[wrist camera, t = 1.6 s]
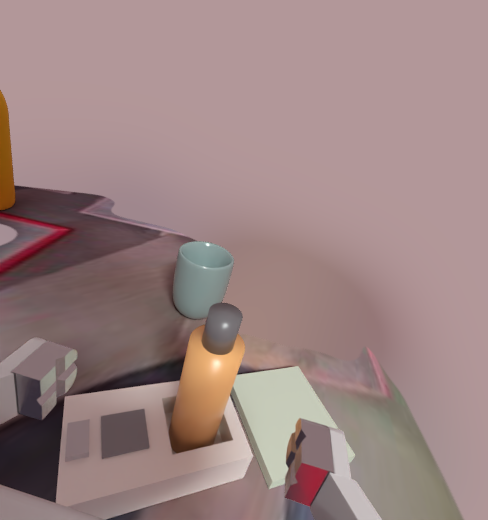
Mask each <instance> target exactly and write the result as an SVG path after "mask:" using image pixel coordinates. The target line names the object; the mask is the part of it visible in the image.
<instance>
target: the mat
mask: <svg viewBox="0 0 488 520" xmlns="http://www.w3.org/2000/svg"><path fill="white" fill-rule="evenodd" d="M231 395H232V398H233V400H234V403H235V405H236V408H237V410H238V413H239V415H240V418H241V420H242V423H243V425H244V428H245V430H246V433H247V435H248V438H249V440H250V443H251V445H252V448H253V451H254V453H255V456H256V458H257V461H258V463H259V466H260V468H261V471H262V473H263V476H264V478H265V481H266V483H267V486H268V488H269V489H271V488H274V487H277V486H280V485H283V484H285V476H286V474H287V471H288V469H289V468H288V466H287V465H286V452H287V446H288V442H289V439H290V437H291V434H292V433H294V432H295V425H296V423H297V421H298V419H299V418H302V419H305V420H309V421H312V422H315V423H319V424H322V425H326V426H327V427H328V426H329V427H332V428H335V429H338V428H337V426H336V424H335V423H334V421H333V420H332V418H331V417H330V415H329V414H328V412H327V410H326V409H325V407H324V406H323V404H322V403H321V401H320V400H319V398H318V396H317V395H316V393H315V392H314V390H313V389H312V387H311V386H310V384H309V382H308V381H307V379H306V378H305V376H304V375H303V373H302V372H301V370H300V368H299V367H298V366H296V367H289V368H282V369H275V370H268V371H261V372H254V373H247V374H240V375H236V378H235V381H234V384H233V387H232V390H231ZM346 447H347V454H348V460H349V462H351V461H352V460H353V458H354V457H355V454H354V452H353V451H352V449H351V448H350V446H349V445H348V443H347V442H346Z"/></svg>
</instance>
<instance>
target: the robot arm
mask: <svg viewBox="0 0 488 520" xmlns="http://www.w3.org/2000/svg"><path fill="white" fill-rule="evenodd" d="M76 359H77V351H76V350H74V349H72V348H69V347H66V346H63V345H60V344H57V343H54V342H51V341H47V340H44V339H41V338H38V337H34V338H31V339H30V340H28V341H27V342H26V343H25V344H23V345H22V346H21V347H20V348H18V349H17V350H16V351H15V352H13V353H12V354H11V355H10V356H8V357H7V358H6V359H5V360H3V361H2V362H1V363H0V424H2V423H4V422H6V421H7V420H9V419H11V418H13V417H15V416H17V415H18V414H22V415H25V416H29V417H32V418H36V419H39V420H43V419H44V418H45V417H46V416H47V414H48V413H49V412H50V411H51V410H52V409H53V408H54V406H55V405H56V400H57V397H59V396H62V395H64V394H66V392H67V391H68V390H69V389H70V388H71V386H72V384H73V382H74V380H75V378H76V374H77V366H76V365H75V363H74V361H75V360H76ZM286 465H287V466H288V468H289V469H288V471H287V474H286V476H285V498H287V499H289V500H292V501H295V502H298V503H301V504H304V505H306V506H309V507H310V510H311V512H312V515H313V517H314V520H382V519H381V518H380V516H379V515H378V513H377V512H376V510H375V509H374V507H373V506H372V504H371V503H370V501H369V500H368V498H367V497H366V495H365V494H364V492H363V491H362V489H361V488H360V486H359V485H358V483H357V482H356V480H353V479H351V473H350V467H349V460H348V454H347V447H346V440H345V434H344V432H343V431H342V430H339V429H335V428H332V427H329V426H328V427H327V426H326V425H322V424H319V423H315V422H312V421H309V420H305V419H302V418H299V419H298V421H297V423H296V425H295V432H294V433H292V434H291V437H290V439H289V442H288V446H287V452H286ZM0 520H105V519H102V518H99V517H96V516H93V515H90V514H87V513H84V512H81V511H78V510H75V509H72V508H69V507H66V506H63V505H60V504H57V503H54V502H51V501H48V500H45V499H42V498H39V497H36V496H33V495H30V494H27V493H24V492H21V491H18V490H15V489H12V488H9V487H6V486H3V485H0Z"/></svg>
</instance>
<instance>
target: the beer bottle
mask: <svg viewBox="0 0 488 520" xmlns="http://www.w3.org/2000/svg"><path fill="white" fill-rule="evenodd" d="M11 154H12V153H11V141H10V129H9V114H8V108H7V104H6V101H5V98H4V96H3V94H2V92H1V90H0V210H5V209H8V208H10V207H12V206H13V205H14V203H15V188H14V179H13V166H12V155H11Z"/></svg>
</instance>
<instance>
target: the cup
mask: <svg viewBox="0 0 488 520" xmlns="http://www.w3.org/2000/svg"><path fill="white" fill-rule="evenodd" d="M233 264H234V258H233V257H232V255H231V254H230V253H229V252H228V251H227V250H226V249H224V248H222V247H220V246H218V245H216V244H213V243H209V242H201V241H196V242H189V243H186V244H184V245H182V246H181V247H180V248H179V251H178V256H177V261H176V266H175V272H174V279H173V300H174V304H175V306H176V308H177V309H178V311H179V312H180V313H181V314H183V315H184V316H186V317H188V318H191V319H204V318H207V316H208V312H209V308H210V307H211V306H212V305H213V304H216V303H222V301H223V298H224V296H225V293H226V290H227V287H228V284H229V280H230V276H231V273H232V269H233Z"/></svg>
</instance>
